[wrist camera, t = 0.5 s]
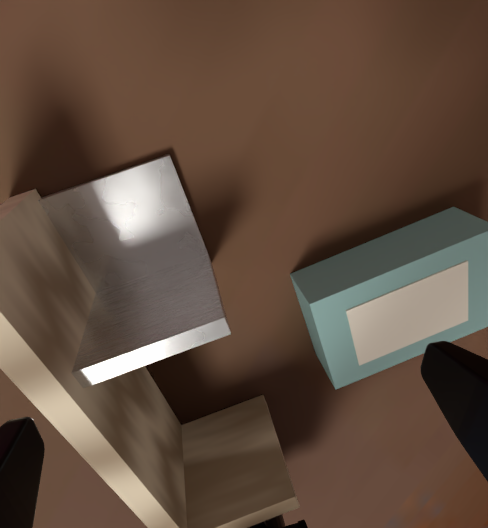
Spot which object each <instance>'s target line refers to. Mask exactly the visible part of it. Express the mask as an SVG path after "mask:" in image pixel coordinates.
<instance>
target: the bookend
mask: <svg viewBox="0 0 488 528" xmlns="http://www.w3.org/2000/svg"><path fill="white" fill-rule="evenodd" d="M38 201H39V203H40V204H41V206H42V208H43V209H44V211H45V212H46V214H47V216H48V217H49V219H50V220H51V222H52V224H53V225H54V227H55V228H56V230H57V232H58V233H59V235H60V236H61V238H62V240H63V241H64V243H65V244H66V246H67V248H68V249H69V251H70V252H71V254H72V256H73V257H74V259H75V260H76V262H77V264H78V265H79V267H80V268H81V270H82V272H83V273H84V275H85V276H86V278H87V280H88V281H89V283H90V284H91V286H92V288H93V289H94V291H95V292H96V294H95V297H94V301H93V304H92V307H91V311H90V314H89V317H88V321H87V324H86V327H85V331H84V334H83V337H82V341H81V344H80V347H79V351H78V354H77V357H76V360H75V364H74V367H73V370H72V375H73V376H74V377H75V378H76V380H77V381H78V382H79V384H80V385H81V386H82V387H83V388H85V387H88V386H91V385H94V384H96V383H99V382H102V381H105V380H107V379H110V378H113V377H115V376H118V375H121V374H124V373H126V372H129V371H132V370H134V369H137V368H140V367H143V366H145V365H148V364H151V363H154V362H156V361H159V360H162V359H164V358H167V357H170V356H173V355H175V354H178V353H181V352H183V351H186V350H189V349H192V348H194V347H197V346H200V345H203V344H205V343H208V342H211V341H213V340H216V339H219V338H222V337H224V336H227V335H230V334H231V332H230V328H229V324H228V321H227V317H226V313H225V309H224V306H223V302H222V298H221V295H220V291H219V287H218V283H217V280H216V276H215V272H214V269H213V265H212V262H211V259H210V257H209V254H208V251H207V249H206V246H205V244H204V241H203V239H202V236H201V233H200V231H199V228H198V226H197V223H196V221H195V218H194V215H193V213H192V210H191V208H190V205H189V203H188V200H187V197H186V195H185V192H184V190H183V187H182V185H181V182H180V179H179V177H178V174H177V172H176V169H175V167H174V164H173V161H172V159H171V156H170V154H167V155H164V156H161V157H158V158H155V159H152V160H149V161H146V162H144V163H141V164H138V165H135V166H132V167H129V168H126V169H123V170H120V171H117V172H114V173H111V174H109V175H106V176H103V177H100V178H97V179H94V180H91V181H88V182H85V183H82V184H79V185H76V186H74V187H71V188H68V189H65V190H62V191H59V192H56V193H53V194H50V195H47V196H44V197H42V198H40V199H39V200H38Z"/></svg>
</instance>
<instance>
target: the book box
mask: <svg viewBox="0 0 488 528" xmlns="http://www.w3.org/2000/svg"><path fill="white" fill-rule="evenodd" d="M290 276H291V279H292V282H293V285H294V288H295V291H296V294H297V297H298V300H299V303H300V307H301V310H302V313H303V316H304V319H305V322H306V325H307V328H308V331H309V334H310V337H311V340H312V343H313V347H314V350H315V353H316V355H317V357H318V359H319V360H320V362H321V364H322V366H323V368H324V370H325V371H326V373H327V375H328V377H329V379H330V380H331V382H332V384H333V386H334V388H335V389H339V388H341V387H343V386H346V385H348V384H351V383H353V382H356V381H358V380H360V379H363V378H365V377H368V376H370V375H372V374H375V373H377V372H380V371H382V370H384V369H387V368H389V367H392V366H394V365H396V364H399V363H401V362H404V361H406V360H408V359H411V358H413V357H416V356H418V355H420V354H423V353H425V349H426V346H427V345H428V344H429V343H433V342H438V341H447V342H452V341H454V340H457V339H459V338H461V337H464V336H466V335H469V334H471V333H473V332H476V331H478V330H481V329H483V328H485V327H488V222H487V221H485V220H482V219H480V218H478V217H476V216H473V215H471V214H469V213H467V212H465V211H462V210H460V209H458V208H456V207H451V208H449V209H447V210H444V211H442V212H439V213H437V214H434V215H432V216H430V217H427V218H425V219H422V220H420V221H417V222H415V223H413V224H410V225H408V226H405V227H403V228H400V229H398V230H396V231H393V232H391V233H388V234H386V235H383V236H381V237H379V238H376V239H374V240H371V241H369V242H366V243H364V244H362V245H359V246H357V247H354V248H352V249H349V250H347V251H345V252H342V253H340V254H337V255H335V256H332V257H330V258H328V259H325V260H323V261H320V262H318V263H315V264H313V265H311V266H308V267H306V268H303V269H301V270H298V271H296V272H294V273H291V274H290Z"/></svg>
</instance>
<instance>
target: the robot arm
mask: <svg viewBox="0 0 488 528" xmlns="http://www.w3.org/2000/svg"><path fill="white" fill-rule="evenodd" d="M421 374H422V377H423V379H424V381H425V383H426V385H427V386H428V388H429V390H430V392H431V393H432V395H433V397H434V399H435V400H436V402H437V404H438V406H439V407H440V409H441V411H442V413H443V414H444V416H445V418H446V420H447V421H448V423H449V425H450V427H451V428H452V430H453V432H454V433H455V435H456V436H457V438H458V439H459V441H460V442H461V444H462V445H463V447H464V448H465V450H466V451H467V453H468V454H469V456H470V457H471V458H472V460H473V461H474V463H475V464H476V466H477V467H478V468H479V470H480V471H481V473H482V474H483V476H484V477H485V479H486V480H487V481H488V359H485V358H483V357H481V356H479V355H476V354H474V353H472V352H470V351H467V350H465V349H463V348H461V347H459V346H456V345H454V344H452V343H450V342H447V341H438V342H433V343H429V344H428V345H427V346H426V349H425V353H424V357H423V360H422V364H421ZM43 458H44V442H43V440H42V438H41V435H40V433H39V431H38V429H37V427H36V425H35V423H34V421H33V419H32V418H30V417H23V418H18V419H12V420H9V421H7V422H5V423H4V424H3V425H2V426H1V427H0V528H32V527H33V522H34V516H35V509H36V503H37V496H38V490H39V484H40V477H41V471H42V465H43ZM248 528H307V525H306V522H305V520H301V521H298V523H295V524H292V525H288V526H285V523H284V519H283V516H282V514H281V515H279V516H276V517H273V518H271V519H268V520H266V521H263V522H261V523H258V524H256V525H253V526H250V527H248Z"/></svg>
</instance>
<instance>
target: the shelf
mask: <svg viewBox="0 0 488 528" xmlns="http://www.w3.org/2000/svg"><path fill="white" fill-rule="evenodd" d="M40 198H41V197H40V195H39V193H38V192H37V190H36V189H33V190H30V191H27V192H24V193H21V194H19V195H16V196H13V197H10V198H8V199H7V200H6V201H4V202H3V203H2V204H1V205H0V369H1V370H2V371H3V372H4V373H5V374H6V375H7V376H8V377H9V378H10V379H11V380H12V381H13V383H14V384H15V385H16V386H17V387H18V388H19V389H20V390H21V391H22V392H23V393H24V394H25V395H26V397H27V398H28V399H29V400H30V401H31V402H32V403H33V404H34V405H35V406H36V407H37V408H38V409H39V411H40V412H41V413H42V414H43V415H44V416H45V417H46V418H47V419H48V420H49V421H50V422H51V423H52V425H53V426H54V427H55V428H56V429H57V430H58V431H59V432H60V433H61V434H62V435H63V436H64V438H65V439H66V440H67V441H68V442H69V443H70V444H71V445H72V446H73V447H74V448H75V449H76V450H77V452H78V453H79V454H80V455H81V456H82V457H83V458H84V459H85V460H86V461H87V462H88V463H89V464H90V466H91V467H92V468H93V469H94V470H95V471H96V472H97V473H98V474H99V475H100V476H101V477H102V478H103V480H104V481H105V482H106V483H107V484H108V485H109V486H110V487H111V488H112V489H113V490H114V491H115V492H116V494H117V495H118V496H119V497H120V498H121V499H122V500H123V501H124V502H125V503H126V504H127V505H128V506H129V508H130V509H131V510H132V511H133V512H134V513H135V514H136V515H137V516H138V517H139V518H140V519H141V520H142V522H143V523H144V524H145V525H146V526H147V527H148V528H248V527H250V526H253V525H256V524H258V523H261V522H263V521H266V520H268V519H271V518H273V517H276V516H279V515H281V514H284V513H286V512H289V511H291V510H294V509H296V508H299V507H300V506H299V502H298V499H297V496H296V493H295V490H294V487H293V484H292V481H291V478H290V474H289V471H288V468H287V465H286V462H285V459H284V456H283V453H282V449H281V446H280V443H279V440H278V437H277V434H276V431H275V428H274V425H273V421H272V418H271V415H270V412H269V409H268V406H267V403H266V401H265V398H264V395H261V396H258V397H255V398H253V399H250V400H247V401H245V402H242V403H239V404H237V405H234V406H231V407H229V408H226V409H223V410H221V411H218V412H215V413H213V414H210V415H207V416H205V417H202V418H199V419H197V420H194V421H191V422H189V423H186V424H183V425H181V424H180V422H179V421H178V419H177V417H176V416H175V414H174V412H173V411H172V409H171V408H170V406H169V404H168V403H167V401H166V399H165V398H164V396H163V395H162V393H161V391H160V390H159V388H158V386H157V385H156V383H155V382H154V380H153V378H152V377H151V375H150V373H149V372H148V370H147V369H146V367H145V366H143V367H140V368H137V369H134V370H132V371H129V372H126V373H124V374H121V375H118V376H115V377H113V378H110V379H107V380H105V381H102V382H99V383H96V384H94V385H91V386H88V387H85V388H83V387H82V386H81V385H80V384H79V382H78V381H77V380H76V378H75V377H74V376H73V375H72V370H73V367H74V364H75V360H76V357H77V354H78V351H79V347H80V344H81V341H82V337H83V334H84V331H85V327H86V324H87V321H88V317H89V314H90V311H91V307H92V304H93V301H94V297H95V294H96V292H95V291H94V289H93V288H92V286H91V284H90V283H89V281H88V280H87V278H86V276H85V275H84V273H83V272H82V270H81V268H80V267H79V265H78V264H77V262H76V260H75V259H74V257H73V256H72V254H71V252H70V251H69V249H68V248H67V246H66V244H65V243H64V241H63V240H62V238H61V236H60V235H59V233H58V232H57V230H56V228H55V227H54V225H53V224H52V222H51V220H50V219H49V217H48V216H47V214H46V212H45V211H44V209H43V208H42V206H41V204H40V203H39V201H38V200H39V199H40Z"/></svg>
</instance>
